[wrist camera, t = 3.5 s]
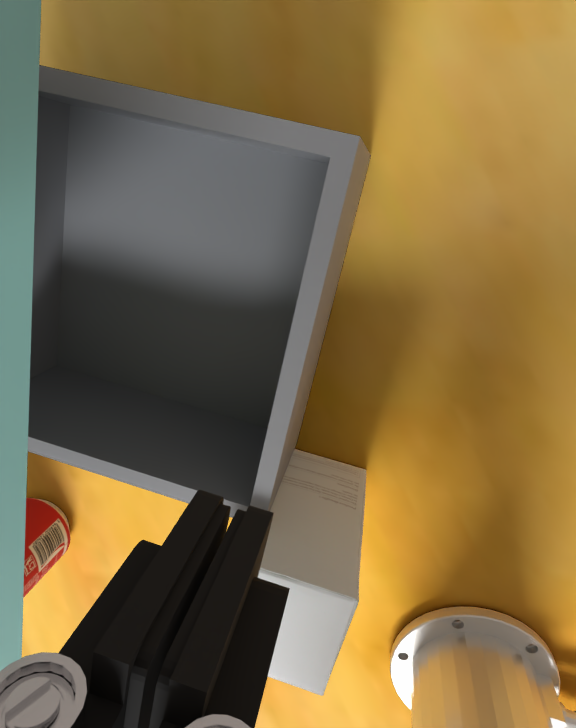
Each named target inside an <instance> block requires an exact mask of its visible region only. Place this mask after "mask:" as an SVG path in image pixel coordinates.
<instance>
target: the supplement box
mask: <svg viewBox="0 0 576 728" xmlns="http://www.w3.org/2000/svg"><path fill="white" fill-rule="evenodd" d="M365 488H366V470H365V469H362V468H359V467H355V466H352V465H349V464H345V463H342V462H338V461H335V460H331V459H328V458H324V457H321V456H318V455H314V454H311V453H307V452H304V451H300V450H297V449H294V451H293V454H292V456H291V459H290V462H289V464H288V467H287V469H286V472H285V474H284V477H283V479H282V482H281V484H280V487H279V489H278V492H277V494H276V497H275V499H274V502H273V505H272V507H271V510H270V512H273V513H274V514H273V519H272V523H271V527H270V531H269V535H268V539H267V543H266V547H265V551H264V555H263V559H262V563H261V567H260V571H259V575H258V578H260V579H263V580H266V581H269V582H272V583H275V584H278V585H281V586H284V587H287V588H290V590H289V594H288V598H287V602H286V606H285V610H284V614H283V618H282V622H281V625H280V629H279V633H278V637H277V641H276V645H275V649H274V653H273V657H272V661H271V665H270V669H269V672H268V677H270V678H273V679H276V680H279V681H282V682H285V683H288V684H291V685H293V686H296V687H299V688H302V689H305V690H307V691H310V692H313V693H316V694H319V695H324V691H325V688H326V685H327V682H328V680H329V677H330V674H331V672H332V669H333V666H334V664H335V661H336V659H337V656H338V654H339V651H340V649H341V646H342V643H343V641H344V638H345V636H346V633H347V631H348V628H349V625H350V623H351V620H352V618H353V615H354V612H355V610H356V607H357V605H358V602H359V571H360V558H361V544H362V533H363V520H364V506H365Z"/></svg>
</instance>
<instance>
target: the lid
mask: <svg viewBox="0 0 576 728" xmlns="http://www.w3.org/2000/svg"><path fill="white" fill-rule="evenodd" d="M40 22H41V0H0V671H1V670H2V669H4V668H5V667H6V666H8V665H9V664H10V663H12V662H15V661H17V660H19V659H21V655H22V622H23V588H24V555H25V522H26V488H27V455H28V422H29V389H30V355H31V322H32V289H33V255H34V222H35V189H36V155H37V122H38V89H39V55H40Z"/></svg>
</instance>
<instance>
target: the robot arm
mask: <svg viewBox="0 0 576 728" xmlns="http://www.w3.org/2000/svg"><path fill="white" fill-rule="evenodd" d="M223 502H224V498H223V497H222V496H219V495H216V494H212V493H209V492H206V491H203V490H198V491H197V492H196V494H195V495H194V497H193V498H192V500H191V501H190V503H189V505H188V506H187V508H186V509H185V511H184V512H183V514H182V515H181V517H180V518H179V520H178V522H177V523H176V525H175V526H174V528H173V529H172V531H171V532H170V534H169V535H168V537H167V539H166V540H165V542H164V543H163V545H162V546H160V545H157V544H154V543H151V542H148V541H145V540H142V541H140V542H139V543H138V544H137V545H136V546H135V548H134V549H133V550H132V552H131V553H130V555H129V556H128V557H127V559H126V560H125V562H124V563H123V564H122V566H121V567H120V568H119V570H118V571H117V573H116V574H115V575H114V577H113V578H112V580H111V581H110V582H109V584H108V585H107V587H106V588H105V589H104V591H103V592H102V593H101V595H100V596H99V598H98V599H97V600H96V602H95V603H94V605H93V606H92V607H91V609H90V610H89V612H88V613H87V614H86V616H85V617H84V618H83V620H82V621H81V623H80V624H79V625H78V627H77V628H76V630H75V631H74V632H73V634H72V635H71V637H70V638H69V639H68V641H67V642H66V643H65V645H64V646H63V648H62V649H61V650H60V652H59V653H37V654H33V655H29V656H25V657H23V658H21V659H19V660H17V661H15V662H12V663H10V664H9V665H8V666H6V667H5V668H4V669H2V670H1V671H0V728H254V727H255V723H256V719H257V715H258V712H259V708H260V704H261V700H262V696H263V692H264V688H265V684H266V680H267V676H268V672H269V669H270V665H271V661H272V657H273V653H274V649H275V645H276V641H277V637H278V633H279V629H280V625H281V622H282V618H283V614H284V610H285V606H286V602H287V598H288V594H289V590H290V588H287V587H284V586H281V585H278V584H275V583H272V582H269V581H266V580H263V579H260V578H258V575H259V571H260V567H261V563H262V559H263V555H264V551H265V547H266V543H267V539H268V535H269V531H270V527H271V523H272V519H273V514H274V513H273V512H270V511H267V510H263V509H260V508H257V507H254V506H251V505H249V507H248V509H247V511H243V510H240V509H237V511H236V513H235V515H234V517H233V519H232V521H231V523H230V525H229V527H228V529H227V525H228V520H229V515H230V510H231V507H230V506H227V505H224V504H223ZM226 529H227V532H226ZM390 673H391V678H392V683H393V685H394V687H395V690H396V692H397V694H398V695H399V697H400V698H401V699H402V701H403V702H404V704H405V705H406V706H407V707H408V708H409V709H410V710H411V715H412V728H576V711H571V710H568V709H565V707H564V705H563V704H562V703H561V702H559V700H558V696H559V693H560V677H559V672H558V668H557V665H556V663H555V660H554V657H553V654H552V653H551V651H550V649H549V648H548V646H547V645H546V643H545V642H544V641H543V640H542V639H541V637H540V636H539V635H538V634H537V633H536V632H535V631H533V630H532V629H531V628H529V627H528V626H526V625H525V624H524V623H522V622H520V621H518V620H516V619H514V618H512V617H510V616H508V615H506V614H503V613H500V612H497V611H494V610H490V609H484V608H478V607H459V606H458V607H450V608H442V609H439V610H435V611H432V612H428V613H426V614H424V615H422V616H420V617H418V618H416V619H414V620H413V621H412V622H410V623H409V624H408V625H406V626H405V627H404V628H403V630H402V631H401V632H400V633H399V634H398V636H397V637H396V640H395V642H394V644H393V646H392V650H391V655H390Z"/></svg>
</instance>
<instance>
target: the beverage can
mask: <svg viewBox="0 0 576 728" xmlns="http://www.w3.org/2000/svg"><path fill="white" fill-rule="evenodd" d="M69 544H70V531H69V523H68V520H67V518H66V516H65V514H64V513H63V512H62V511H61V510H60V509H59V508H58V507H57V506H56V505H54V504H53V503H51V502H49V501H46V500H43V499H35V498H26V522H25V555H24V588H23V598H24V597H25V595H26V594H27V593H28V592H29V591H30V590H31V589H32V588H33V587H34V586H35V585H36V584H37V582H38V581H39V580H40V579H41V578H42V577H43V576H44V575H45V574H46V573H47V572H48V571H49V569H50V568H51V567H52V566H53V565H54V564H55V563H56V562H57V561H58V560H59V559H60V558H61V556H62V555H63V554H64V553H65V552H66V551H67V549H68V547H69Z"/></svg>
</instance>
